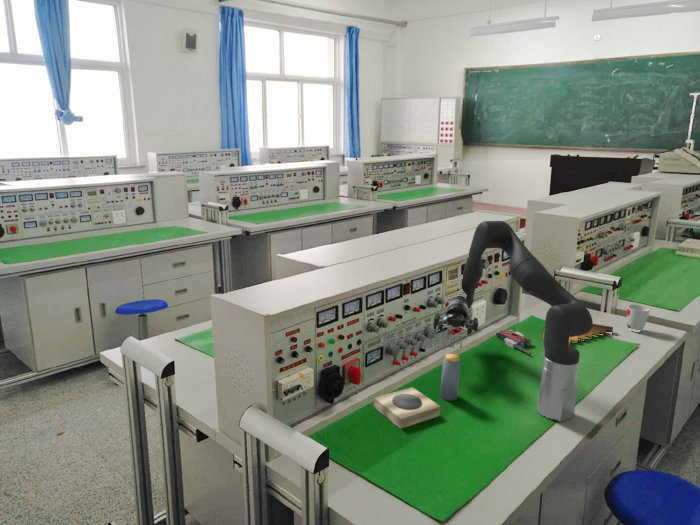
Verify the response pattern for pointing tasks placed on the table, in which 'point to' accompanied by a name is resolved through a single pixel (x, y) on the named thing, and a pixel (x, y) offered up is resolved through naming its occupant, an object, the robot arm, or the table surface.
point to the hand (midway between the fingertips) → (454, 330)
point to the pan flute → (591, 332)
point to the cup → (637, 316)
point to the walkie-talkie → (514, 339)
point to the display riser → (406, 407)
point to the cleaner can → (450, 377)
